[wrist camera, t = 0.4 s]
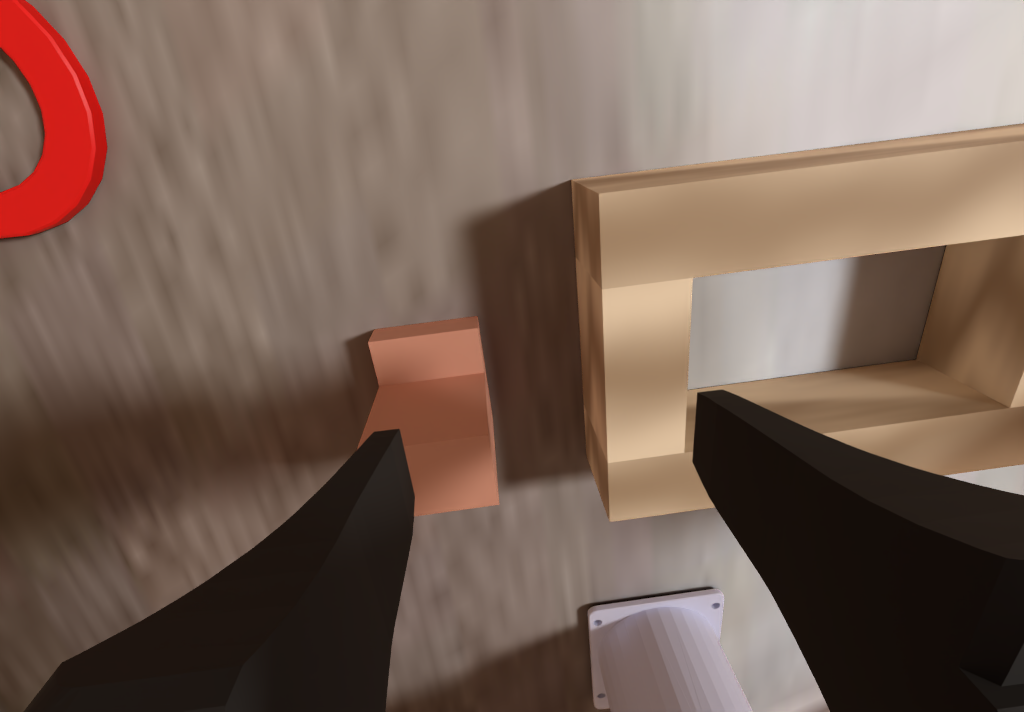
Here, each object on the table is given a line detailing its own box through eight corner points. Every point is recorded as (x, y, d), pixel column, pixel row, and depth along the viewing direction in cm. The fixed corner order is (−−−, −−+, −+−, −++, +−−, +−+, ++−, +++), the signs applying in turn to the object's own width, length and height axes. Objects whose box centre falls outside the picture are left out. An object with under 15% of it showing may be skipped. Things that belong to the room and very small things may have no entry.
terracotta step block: (492, 415, 23) (499, 504, 18) (398, 428, 23) (376, 521, 17) (477, 315, 21) (480, 381, 15) (374, 329, 21) (340, 400, 15)
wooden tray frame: (959, 405, 25) (1056, 459, 21) (586, 456, 24) (609, 521, 20) (1052, 120, 19) (1208, 117, 15) (571, 179, 19) (598, 193, 15)
